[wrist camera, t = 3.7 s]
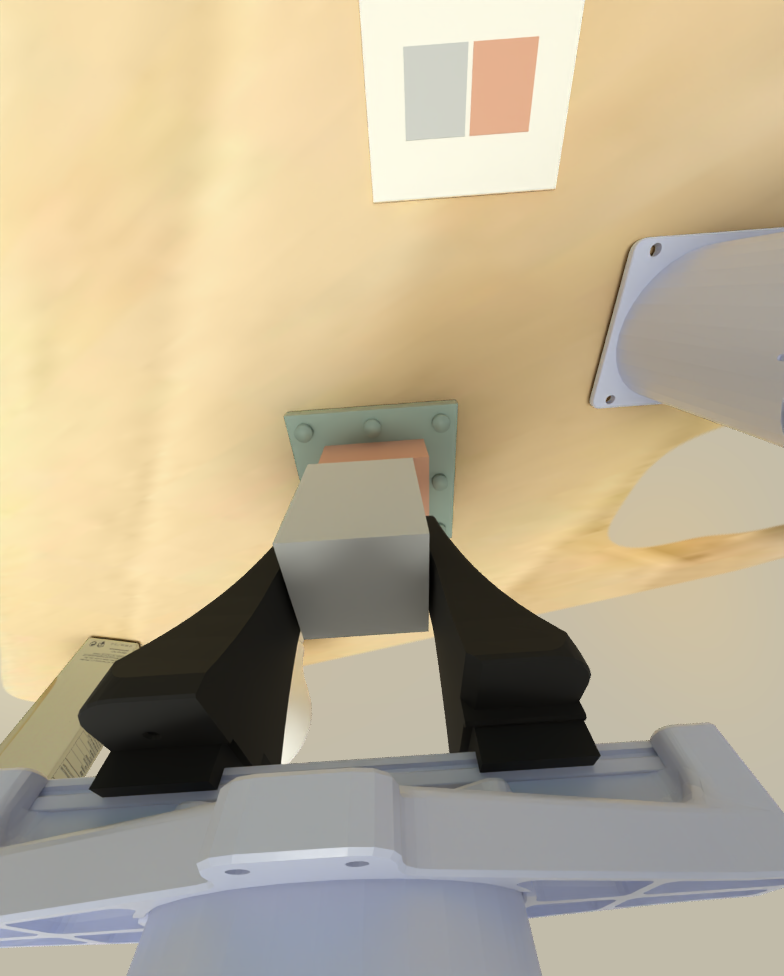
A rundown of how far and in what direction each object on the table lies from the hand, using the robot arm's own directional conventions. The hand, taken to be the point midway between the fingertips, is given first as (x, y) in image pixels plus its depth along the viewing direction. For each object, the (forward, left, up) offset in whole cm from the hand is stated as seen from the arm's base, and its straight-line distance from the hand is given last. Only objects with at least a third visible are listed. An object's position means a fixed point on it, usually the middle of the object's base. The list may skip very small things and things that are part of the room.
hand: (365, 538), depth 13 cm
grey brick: (0, -1, -2) cm, 2 cm away
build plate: (0, +2, -8) cm, 9 cm away
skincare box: (+27, +20, -9) cm, 34 cm away
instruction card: (-5, -15, -8) cm, 18 cm away
